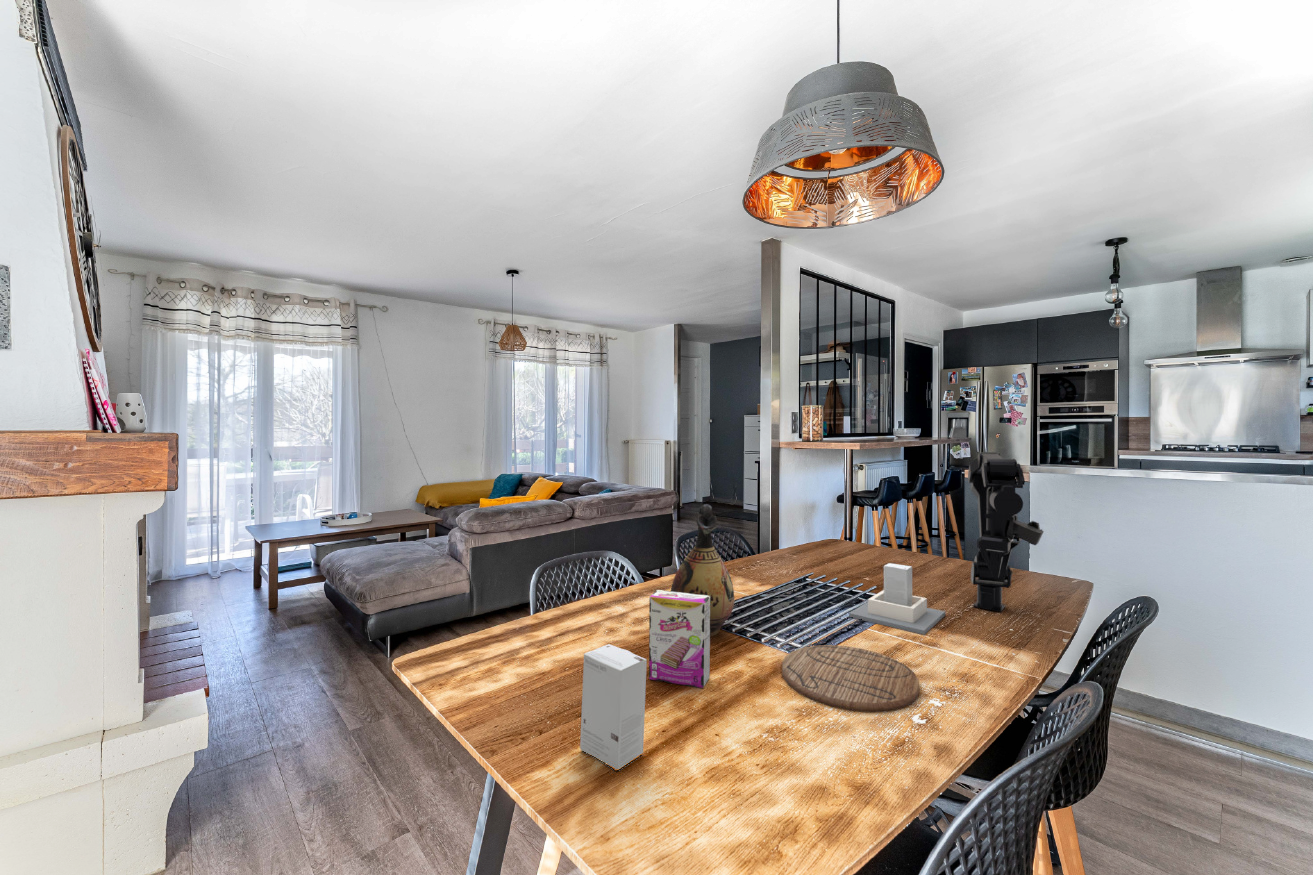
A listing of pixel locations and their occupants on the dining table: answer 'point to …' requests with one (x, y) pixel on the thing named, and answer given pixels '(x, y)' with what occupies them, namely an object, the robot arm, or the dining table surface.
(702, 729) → the dining table surface
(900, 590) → the skincare box
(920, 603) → the holder
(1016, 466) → the robot arm
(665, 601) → the candy bar box
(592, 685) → the skincare box
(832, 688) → the trivet
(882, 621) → the slate board
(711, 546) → the ceramic jug
